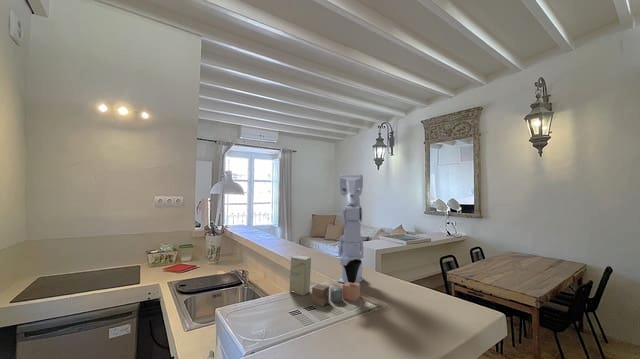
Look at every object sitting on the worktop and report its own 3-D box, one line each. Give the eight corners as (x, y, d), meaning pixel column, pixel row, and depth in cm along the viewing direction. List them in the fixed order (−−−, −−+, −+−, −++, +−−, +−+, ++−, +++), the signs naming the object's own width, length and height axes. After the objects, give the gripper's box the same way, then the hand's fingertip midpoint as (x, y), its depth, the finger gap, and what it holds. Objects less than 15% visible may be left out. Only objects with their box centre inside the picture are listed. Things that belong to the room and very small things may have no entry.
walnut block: (318, 299, 82) (318, 283, 83) (328, 301, 80) (329, 286, 81) (311, 303, 79) (312, 287, 79) (322, 306, 77) (323, 290, 77)
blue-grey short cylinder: (333, 296, 84) (333, 286, 85) (344, 299, 82) (344, 288, 83) (328, 301, 81) (328, 290, 81) (339, 303, 79) (339, 292, 79)
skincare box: (289, 292, 88) (289, 257, 88) (296, 288, 92) (296, 254, 92) (304, 295, 85) (305, 259, 85) (310, 291, 89) (311, 256, 89)
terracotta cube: (347, 294, 87) (348, 281, 87) (360, 297, 85) (360, 283, 85) (342, 298, 83) (342, 284, 83) (355, 301, 81) (355, 287, 81)
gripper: (355, 246, 77) (354, 291, 76) (370, 239, 89) (369, 278, 89) (334, 243, 80) (334, 286, 79) (351, 237, 93) (351, 274, 92)
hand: (351, 282), depth 84 cm, fingers closed
